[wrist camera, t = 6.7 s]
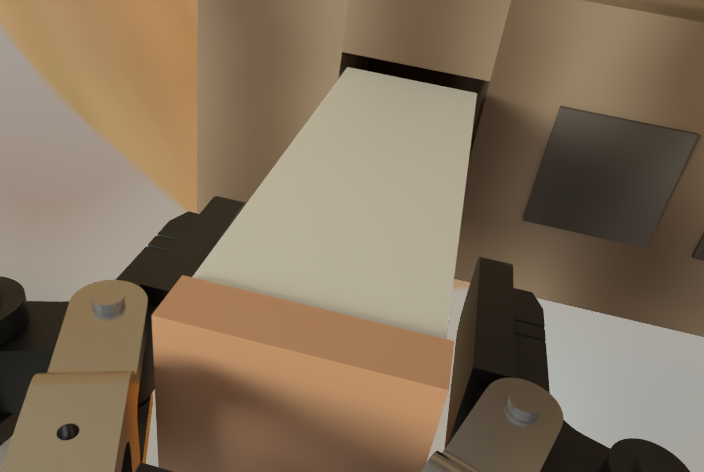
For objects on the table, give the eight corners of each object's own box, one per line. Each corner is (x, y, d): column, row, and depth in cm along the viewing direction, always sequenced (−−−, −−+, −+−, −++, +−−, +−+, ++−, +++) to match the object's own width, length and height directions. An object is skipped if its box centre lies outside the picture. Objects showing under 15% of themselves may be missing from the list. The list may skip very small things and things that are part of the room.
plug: (481, 90, 19) (448, 390, 8) (450, 211, 21) (394, 564, 11) (344, 63, 19) (151, 315, 9) (328, 183, 22) (160, 498, 11)
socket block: (888, 24, 21) (1010, 80, 16) (748, 264, 27) (805, 363, 22) (264, -88, 24) (195, -70, 18) (251, 154, 29) (195, 220, 24)
